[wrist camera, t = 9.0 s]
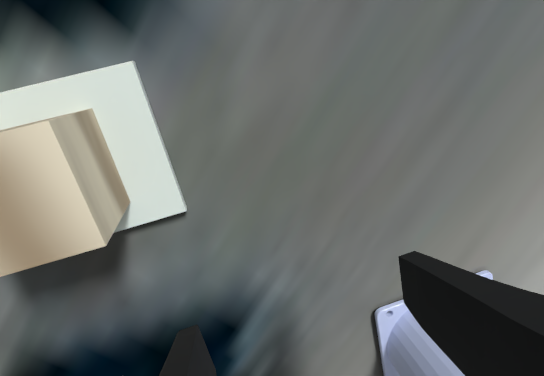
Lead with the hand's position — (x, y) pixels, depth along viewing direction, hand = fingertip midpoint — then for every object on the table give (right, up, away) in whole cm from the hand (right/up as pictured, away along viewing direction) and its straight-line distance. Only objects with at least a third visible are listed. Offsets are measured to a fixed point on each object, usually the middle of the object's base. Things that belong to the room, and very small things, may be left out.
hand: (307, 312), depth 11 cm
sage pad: (-12, +5, +6) cm, 14 cm away
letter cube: (-12, +5, +5) cm, 14 cm away
